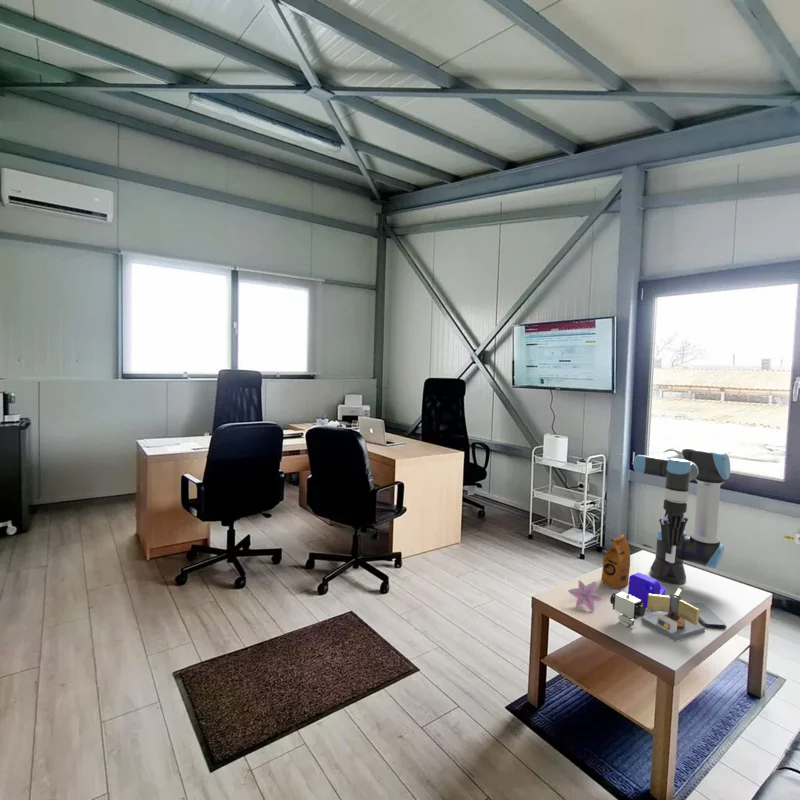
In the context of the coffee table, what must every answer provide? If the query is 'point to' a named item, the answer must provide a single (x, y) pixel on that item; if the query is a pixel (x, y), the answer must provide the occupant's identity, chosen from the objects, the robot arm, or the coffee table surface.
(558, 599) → the coffee table surface
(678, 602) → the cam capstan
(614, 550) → the coffee package
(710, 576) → the coffee table surface
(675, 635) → the level stand
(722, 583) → the coffee table surface
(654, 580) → the bracket
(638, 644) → the coffee table surface
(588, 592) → the lily
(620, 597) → the pneumatic valve
